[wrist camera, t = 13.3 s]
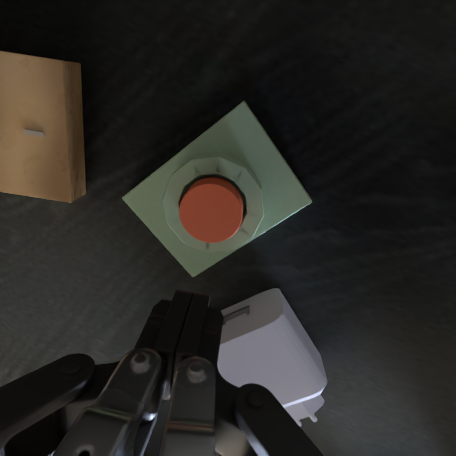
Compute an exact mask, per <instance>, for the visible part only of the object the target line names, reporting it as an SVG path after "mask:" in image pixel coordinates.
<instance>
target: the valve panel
mask: <svg viewBox="0 0 456 456" xmlns="http://www.w3.org/2000/svg"><path fill="white" fill-rule="evenodd" d="M0 192H6V193H12V194H19V195H25V196H31V197H38V198H44V199H51V200H57V201H63V202H70V203H71V202H73V201H75V200H76V199H78V198H79V197H81V196H83V195H84V194H86V181H85V157H84V132H83V107H82V82H81V63H76V62H69V61H63V60H57V59H50V58H44V57H37V56H31V55H24V54H18V53H11V52H5V51H0Z"/></svg>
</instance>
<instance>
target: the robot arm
mask: <svg viewBox="0 0 456 456" xmlns="http://www.w3.org/2000/svg"><path fill="white" fill-rule="evenodd" d="M209 301H210V295H206V294H200V293H194V294H193V292H187V291H181V290H176V292H175V294H174V297H173V299H172V301H170V300H163V299H162V300H161V301H160V302H158V303H157V304H156V305H155V306H154V307H153V309H152V312H151V314H150V316H149V318H148V320H147V323H146V324H145V326H144V329H143V331H142V333H141V335H140V337H139V339H138V341H137V343H136V346H135V348H134V350H131V351H129V352H128V353H126V354H125V355H124V356H123V358H122V359H121V361H118V362H115V363H109V364H100V365H95V363H94V361H93V359H92V358H91V357H90V356H88V355H85V354H70V355H67V356H64V357H62V358H60V359H58V360H56V361H54V362H52V363H50V364H47V365H45V366H43V367H41V368H39V369H37V370H35V371H33V372H31V373H29V374H27V375H25V376H22V377H20V378H18V379H16V380H14V381H12V382H10V383H8V384H6V385H4V386H2V387H0V456H143V454H144V451H145V449H146V446H147V444H148V441H149V438H150V436H151V433H152V431H153V428H154V425H155V423H156V420H157V414H158V411H159V409H160V405H161V402H162V399H165V400H169V399H170V395H171V392H172V395H171V400H170V406H169V411H168V416H167V421H166V423H165V426H164V431H163V436H162V441H161V446H160V451H159V456H215V451H216V452H218V453H219V454H221V455H223V456H323V454H322V453H321V452H320V451H319V450H318V448H317V447H316V446H315V445H314V443H313V442H312V441H311V440H310V439H309V437H308V436H307V435H306V434H305V433H304V431H303V430H302V429H301V428H300V427H299V425H298V424H297V423H296V422H295V421H294V419H293V418H292V417H291V416H290V414H289V413H288V412H287V411H286V410H285V408H284V407H283V406H282V405H281V404H280V402H279V401H278V400H277V399H276V398H275V396H274V395H273V394H272V393H271V392H270V391H269V390H268V389H267V388H265V387H264V386H262V385H259V384H255V383H248V384H245V385H242V386H241V387H237V386H235V385H233V384H231V383H229V382H228V381H226V380H225V379H224V378H223V377H222V376H221V374H220V373H219V370H218V366H217V362H218V355H219V348H220V341H221V333H222V326H223V319H224V317H223V314H222V312H221V310H220V309H219V308H213V307H209Z"/></svg>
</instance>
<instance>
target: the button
mask: <svg viewBox="0 0 456 456" xmlns="http://www.w3.org/2000/svg"><path fill="white" fill-rule="evenodd" d="M179 215H180V220H181V223H182V225H183V227H184V228H185V230H186V231H187V232H188V233H189V234H190V235H191V236H192V237H194V238H196V239H198V240H200V241H203V242H207V243H217V242H221V241H224V240H227V239H228V238H230V237H231V236H233V235H234V234H235V233H236V232H237V230H238V229H239V227H240V225H241V222H242V215H243V201H242V198H241V195H240V193H239V191H238V190H237V189H236V188H235V186H233V185H232V184H231V183H230V182H228V181H226V180H224V179H221V178H217V177H208V178H203V179H201V180H198V181H197V182H195V183H194V184H193V185H191V187H190V188H189V189H188V191H187V192H186V194H185V195H184V197H183V199H182V201H181V204H180V208H179Z"/></svg>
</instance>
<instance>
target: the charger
mask: <svg viewBox="0 0 456 456" xmlns="http://www.w3.org/2000/svg"><path fill="white" fill-rule="evenodd" d="M221 312H222V314H223V317H224V319H223V326H222V333H221V341H220V348H219V355H218V362H217V366H218V370H219V373H220V374H221V376H222V377H223V378H224V379H225V380H226V381H228V382H229V383H231V384H233V385H235V386H237V387H241V386H242V385H245V384H248V383H255V384H259V385H262V386H264V387H265V388H267V389H268V390H269V391H270V392H271V393H272V394H273V395H274V396H275V398H276V399H277V400H278V401H279V402H280V404H281V405H282V406H283V407H284V408H285V410H286V411H287V412H288V413H289V414H290V416H291V417H292V418H293V419H294V421H295V422H296V423H297V424H298V425H299V427H301V426H302V423H301V422H300V421H299V420H300V419H303V418H307V417H310V418H311V420H312V421H313V422H316V421H317V418H316V417H315V415H314V413H315V412H316V411H317V410H318V409H319V408H320V407H321V406H322V405H323V403H324V399H323V398H322V396H321V395H320V394H321V392H322V391H323V389H324V388H325V386H326V384H327V378H326V374H325V370H324V366H323V363H322V359H321V355H320V354H319V352H318V350H317V349H316V347H315V346H314V344H313V342H312V341H311V339H310V337H309V336H308V334H307V333H306V331H305V329H304V328H303V326H302V325H301V323H300V321H299V320H298V318H297V317H296V315H295V313H294V312H293V310H292V309H291V307H290V305H289V304H288V302H287V301H286V299H285V297H284V296H283V294H282V292H281V291H280V289H278V288H274V289H269V290H266V291H264V292H261V293H259V294H257V295H255V296H253V297H250V298H248V299H246V300H244V301H241V302H239V303H237V304H235V305H232V306H230V307H228V308H226V309H224V310H221Z"/></svg>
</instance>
